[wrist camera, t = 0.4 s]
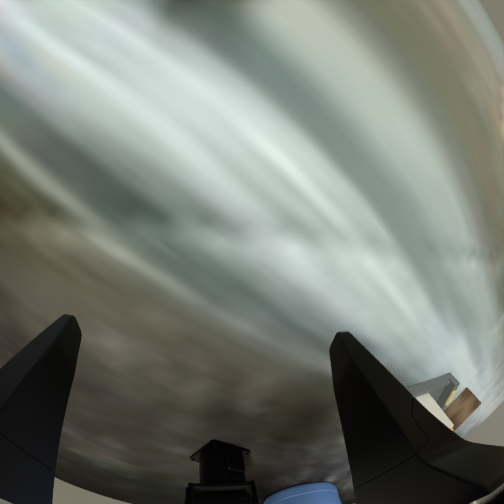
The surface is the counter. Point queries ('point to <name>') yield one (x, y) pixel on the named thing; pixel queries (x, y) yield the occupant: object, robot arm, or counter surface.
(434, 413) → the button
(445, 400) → the button board
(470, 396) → the plaque
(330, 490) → the water jug
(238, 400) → the counter surface
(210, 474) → the robot arm
